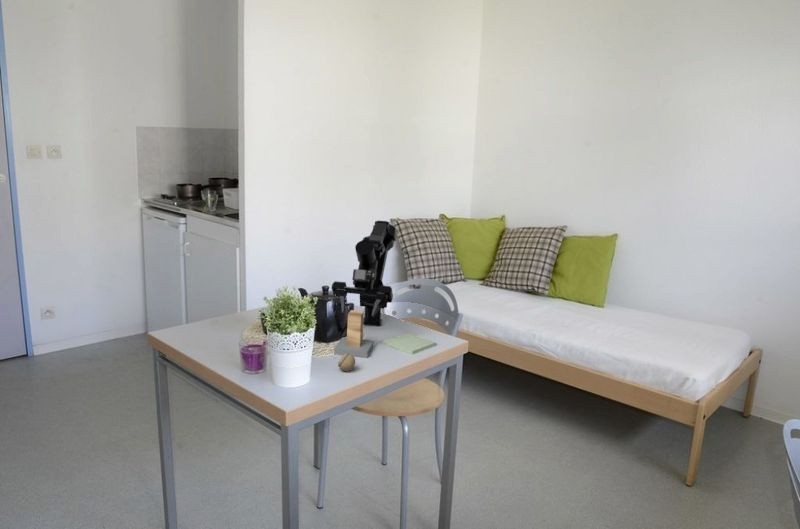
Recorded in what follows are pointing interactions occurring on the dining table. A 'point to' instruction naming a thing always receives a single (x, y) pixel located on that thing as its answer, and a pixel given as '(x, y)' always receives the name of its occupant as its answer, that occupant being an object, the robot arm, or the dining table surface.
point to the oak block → (355, 328)
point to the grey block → (354, 348)
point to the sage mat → (409, 343)
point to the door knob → (346, 362)
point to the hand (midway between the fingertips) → (357, 315)
